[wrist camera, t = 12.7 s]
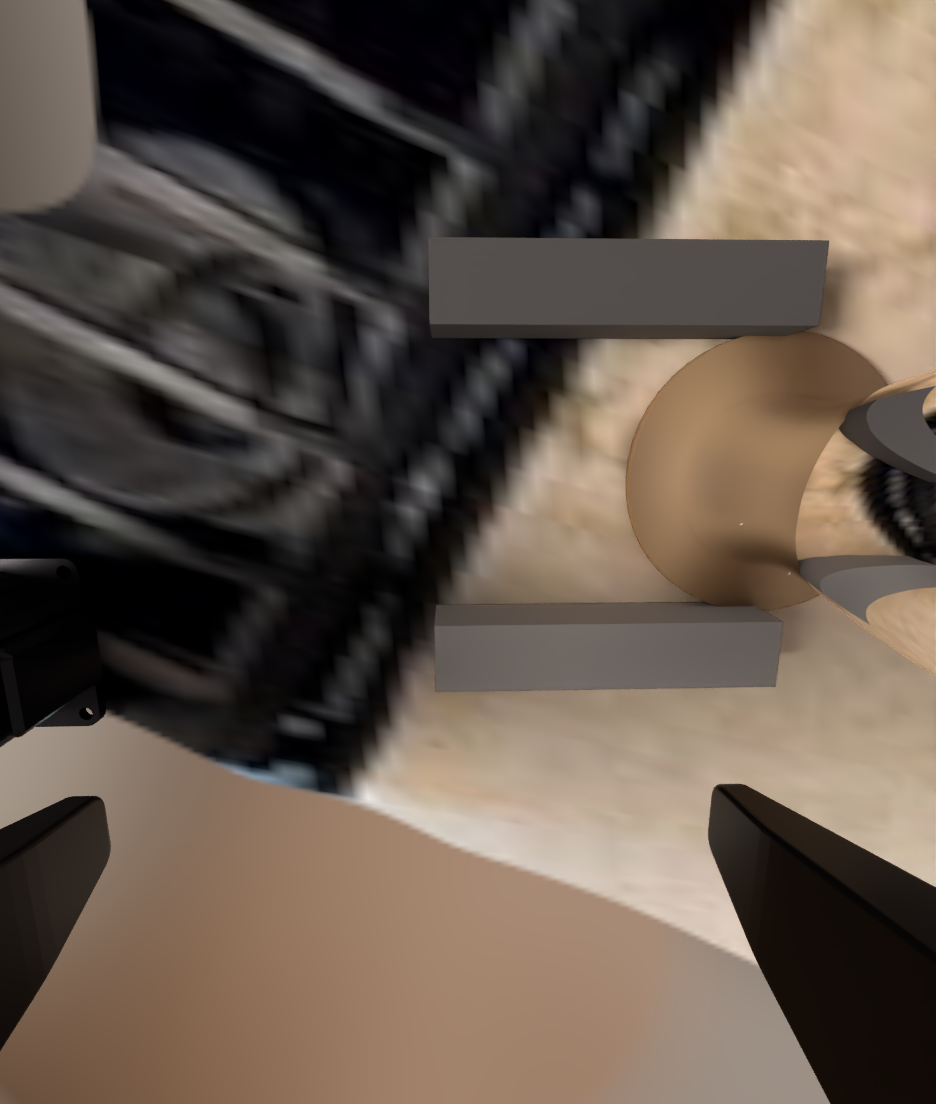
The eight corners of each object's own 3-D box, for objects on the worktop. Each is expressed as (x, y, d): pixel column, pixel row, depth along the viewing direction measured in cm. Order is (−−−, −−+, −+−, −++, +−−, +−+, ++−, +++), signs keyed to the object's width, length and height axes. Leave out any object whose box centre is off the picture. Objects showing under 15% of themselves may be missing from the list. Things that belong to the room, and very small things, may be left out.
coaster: (618, 608, 21) (622, 612, 21) (633, 332, 19) (639, 329, 19) (872, 605, 22) (884, 609, 21) (914, 333, 20) (929, 330, 19)
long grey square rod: (432, 337, 19) (429, 324, 17) (431, 262, 19) (428, 237, 16) (774, 338, 19) (819, 325, 17) (782, 264, 19) (829, 240, 17)
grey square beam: (436, 664, 22) (435, 691, 19) (436, 604, 21) (434, 626, 19) (740, 659, 22) (775, 686, 20) (746, 601, 21) (783, 621, 19)
